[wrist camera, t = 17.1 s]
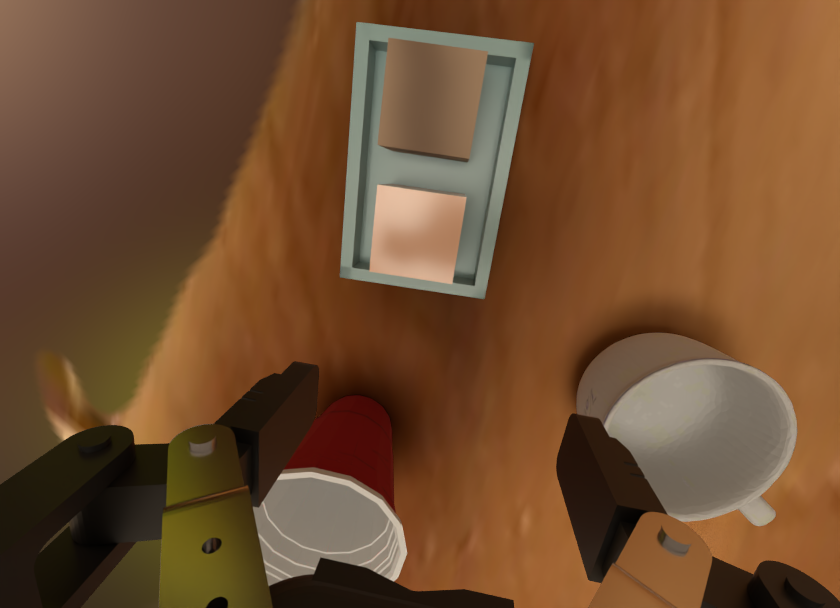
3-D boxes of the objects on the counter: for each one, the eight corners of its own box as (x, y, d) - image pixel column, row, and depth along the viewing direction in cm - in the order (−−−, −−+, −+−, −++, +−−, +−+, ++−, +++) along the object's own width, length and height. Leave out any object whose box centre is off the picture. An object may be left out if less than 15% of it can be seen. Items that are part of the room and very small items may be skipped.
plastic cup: (390, 494, 35) (358, 644, 24) (282, 442, 35) (196, 572, 23) (446, 404, 32) (439, 530, 20) (328, 345, 31) (253, 441, 20)
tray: (526, 56, 24) (533, 43, 21) (482, 289, 28) (484, 299, 26) (366, 37, 24) (356, 21, 22) (349, 269, 29) (339, 277, 27)
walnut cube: (482, 76, 24) (488, 51, 19) (467, 162, 25) (469, 158, 21) (402, 65, 24) (388, 37, 19) (392, 151, 26) (377, 145, 21)
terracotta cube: (453, 266, 28) (452, 284, 23) (384, 255, 28) (369, 271, 23) (465, 193, 26) (466, 197, 21) (391, 183, 26) (377, 184, 21)
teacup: (538, 360, 30) (566, 422, 22) (676, 286, 27) (761, 328, 20) (622, 487, 33) (671, 580, 25) (754, 431, 30) (854, 517, 22)
